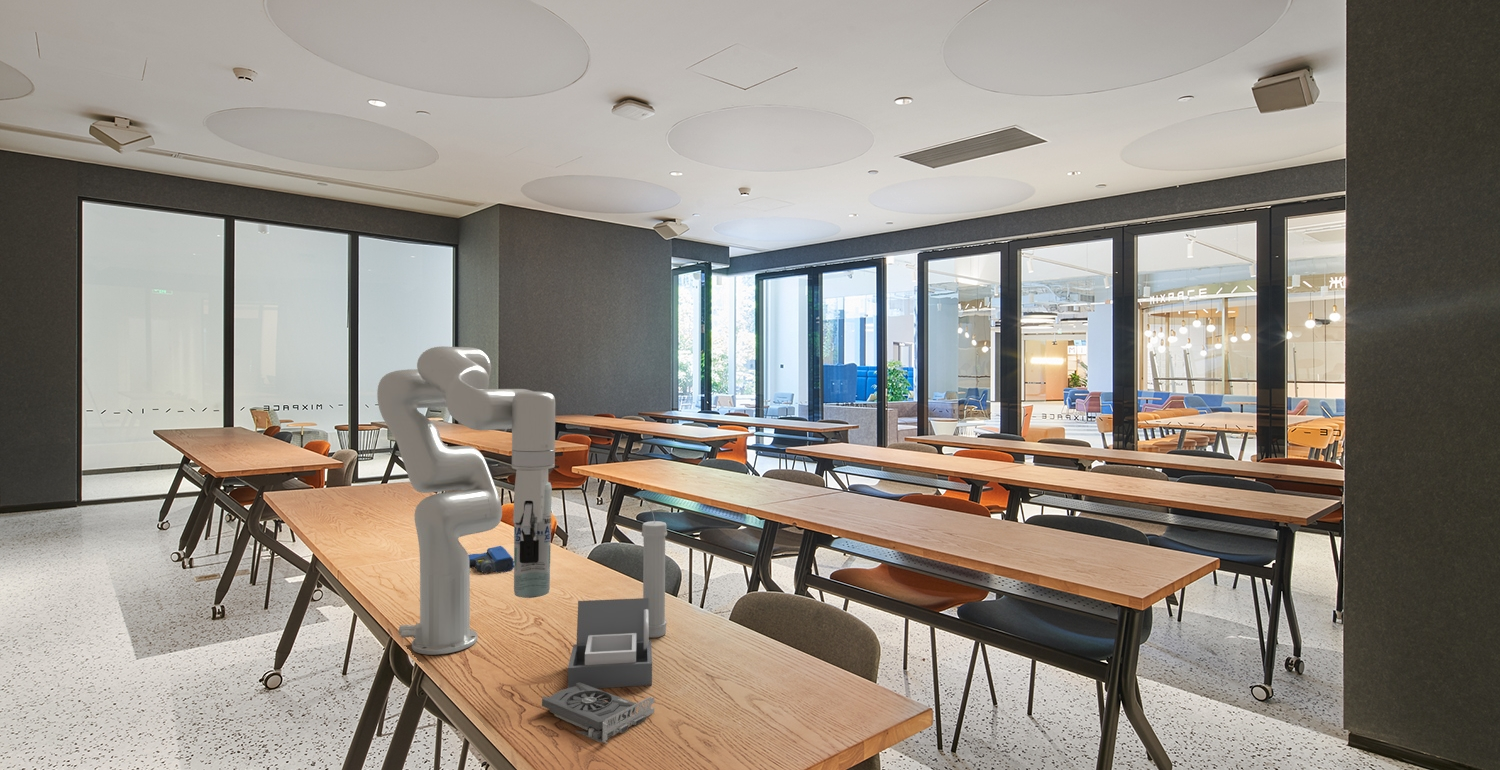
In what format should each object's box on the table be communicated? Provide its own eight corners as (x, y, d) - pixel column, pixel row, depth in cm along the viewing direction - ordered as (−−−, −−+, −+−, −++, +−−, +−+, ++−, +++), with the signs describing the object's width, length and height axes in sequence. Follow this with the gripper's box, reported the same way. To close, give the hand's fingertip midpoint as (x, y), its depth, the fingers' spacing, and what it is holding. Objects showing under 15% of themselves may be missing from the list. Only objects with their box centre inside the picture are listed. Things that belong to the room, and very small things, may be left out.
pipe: (661, 639, 151) (662, 499, 150) (634, 637, 152) (634, 498, 152) (669, 630, 156) (670, 495, 156) (643, 627, 158) (643, 494, 157)
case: (567, 690, 127) (567, 628, 127) (575, 654, 143) (575, 599, 142) (651, 684, 129) (652, 624, 129) (650, 650, 145) (650, 596, 145)
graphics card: (659, 696, 118) (605, 723, 108) (658, 719, 118) (605, 748, 108) (590, 672, 128) (535, 695, 118) (590, 693, 128) (535, 717, 118)
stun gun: (458, 567, 195) (514, 555, 202) (451, 554, 209) (504, 543, 216) (460, 582, 195) (515, 570, 203) (452, 568, 209) (505, 557, 216)
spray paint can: (512, 588, 131) (514, 481, 131) (549, 585, 133) (550, 480, 133) (513, 599, 125) (515, 487, 124) (551, 596, 127) (553, 486, 127)
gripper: (520, 453, 136) (518, 545, 137) (502, 466, 119) (501, 571, 120) (559, 453, 138) (558, 544, 138) (548, 466, 120) (547, 570, 121)
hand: (532, 556), depth 129 cm, fingers closed on spray paint can, 6 cm apart
